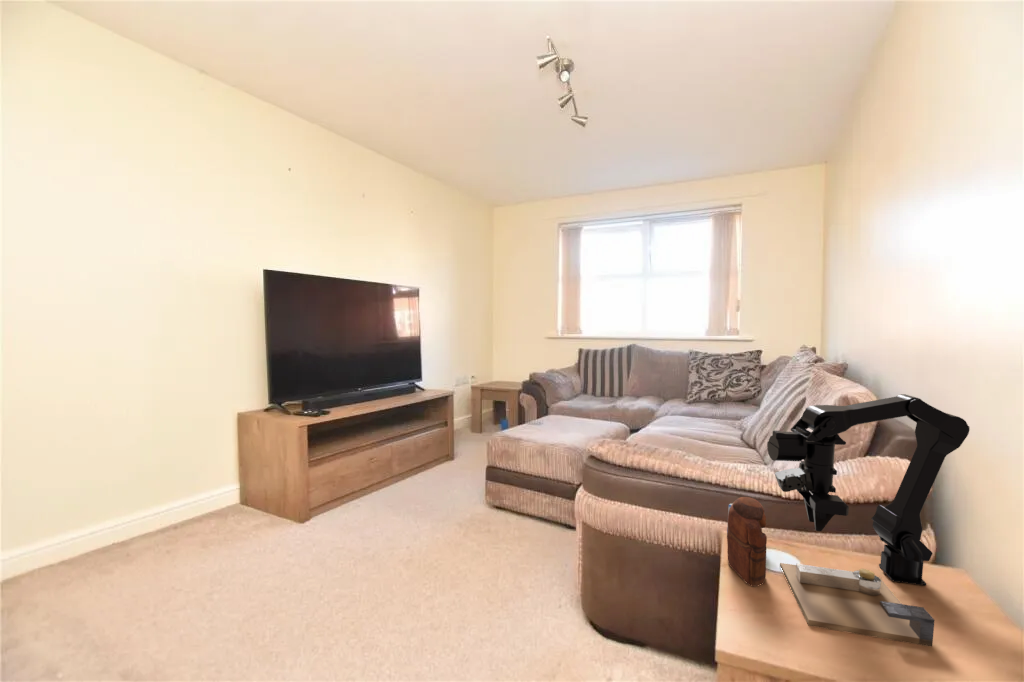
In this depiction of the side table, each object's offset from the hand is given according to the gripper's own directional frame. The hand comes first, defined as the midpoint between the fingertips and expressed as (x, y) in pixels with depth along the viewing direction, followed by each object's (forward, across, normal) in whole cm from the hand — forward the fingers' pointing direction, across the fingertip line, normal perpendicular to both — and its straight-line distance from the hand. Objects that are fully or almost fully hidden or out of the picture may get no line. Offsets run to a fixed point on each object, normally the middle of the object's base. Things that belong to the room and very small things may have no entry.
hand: (814, 526), depth 106 cm
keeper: (+11, +19, +10) cm, 24 cm away
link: (+10, +7, +3) cm, 12 cm away
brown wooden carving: (+11, +5, -15) cm, 19 cm away
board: (+11, +11, +3) cm, 16 cm away
